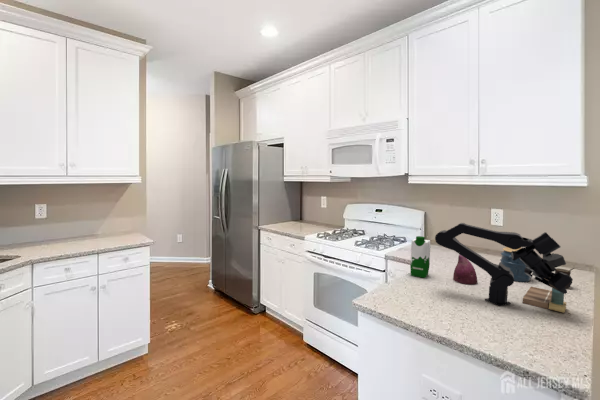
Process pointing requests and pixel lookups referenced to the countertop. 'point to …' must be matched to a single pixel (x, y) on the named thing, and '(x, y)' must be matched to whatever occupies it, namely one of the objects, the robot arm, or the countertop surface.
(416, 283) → the countertop surface
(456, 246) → the robot arm
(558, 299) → the teal column with base
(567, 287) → the mate gourd
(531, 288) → the board
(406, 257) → the countertop surface
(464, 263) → the vegetable
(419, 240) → the milk carton
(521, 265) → the canister
